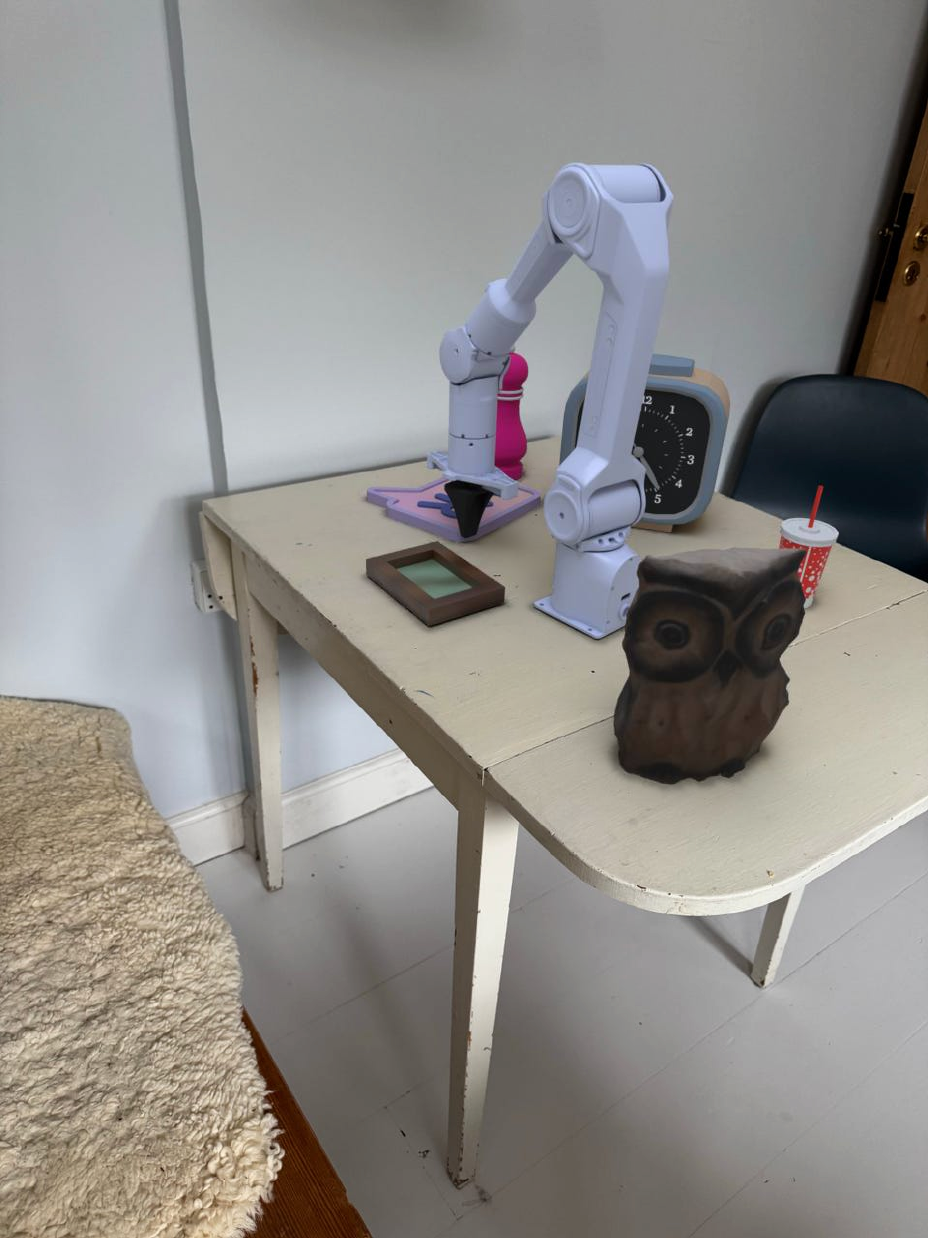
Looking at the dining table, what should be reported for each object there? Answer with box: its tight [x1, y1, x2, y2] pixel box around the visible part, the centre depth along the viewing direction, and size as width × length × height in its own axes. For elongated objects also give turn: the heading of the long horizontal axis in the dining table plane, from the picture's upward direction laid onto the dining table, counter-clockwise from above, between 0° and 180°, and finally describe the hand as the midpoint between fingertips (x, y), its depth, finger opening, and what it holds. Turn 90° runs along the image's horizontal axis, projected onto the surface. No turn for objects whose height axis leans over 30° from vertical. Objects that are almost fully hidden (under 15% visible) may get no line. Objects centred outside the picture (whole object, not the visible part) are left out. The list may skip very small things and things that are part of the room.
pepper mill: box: [494, 344, 529, 481], centre depth 125 cm, size 7×7×20 cm
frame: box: [365, 540, 506, 627], centre depth 96 cm, size 14×10×2 cm
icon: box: [366, 476, 541, 543], centre depth 119 cm, size 19×2×20 cm
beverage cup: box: [778, 485, 840, 609], centre depth 94 cm, size 6×6×14 cm
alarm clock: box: [558, 353, 731, 533], centre depth 112 cm, size 21×10×22 cm, turn 72°
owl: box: [613, 546, 807, 785], centre depth 68 cm, size 13×13×20 cm
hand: (468, 535), depth 108 cm, fingers closed, pressing on icon
